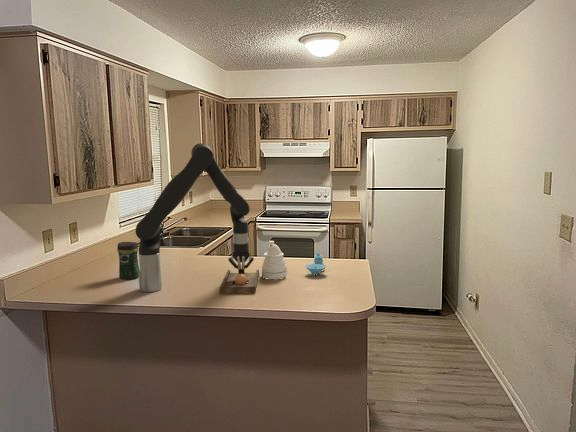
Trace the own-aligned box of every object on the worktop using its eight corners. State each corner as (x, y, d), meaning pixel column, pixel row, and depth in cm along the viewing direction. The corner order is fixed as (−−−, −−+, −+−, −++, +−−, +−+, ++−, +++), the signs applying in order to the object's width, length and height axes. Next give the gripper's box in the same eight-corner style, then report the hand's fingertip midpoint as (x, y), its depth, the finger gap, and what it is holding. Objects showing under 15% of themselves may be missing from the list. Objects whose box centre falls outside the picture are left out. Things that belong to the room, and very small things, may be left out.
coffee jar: (142, 275, 227) (140, 240, 224) (134, 280, 219) (131, 243, 216) (125, 274, 229) (123, 240, 226) (116, 279, 221) (114, 243, 218)
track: (220, 293, 197) (220, 286, 197) (228, 275, 225) (227, 270, 225) (255, 292, 198) (255, 286, 197) (259, 275, 225) (259, 269, 225)
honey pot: (256, 276, 223) (256, 242, 220) (274, 271, 232) (274, 238, 230) (274, 281, 214) (274, 245, 212) (292, 276, 224) (292, 241, 221)
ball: (234, 273, 210) (235, 285, 210) (233, 275, 204) (234, 288, 204) (246, 272, 210) (247, 284, 210) (246, 274, 204) (247, 286, 205)
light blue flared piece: (324, 278, 220) (324, 260, 218) (303, 277, 222) (303, 259, 221) (329, 268, 237) (329, 252, 236) (310, 267, 239) (310, 251, 238)
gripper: (226, 243, 209) (227, 278, 211) (253, 243, 209) (254, 278, 211) (228, 240, 216) (229, 274, 219) (254, 240, 216) (255, 274, 219)
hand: (241, 276), depth 215 cm, fingers closed
